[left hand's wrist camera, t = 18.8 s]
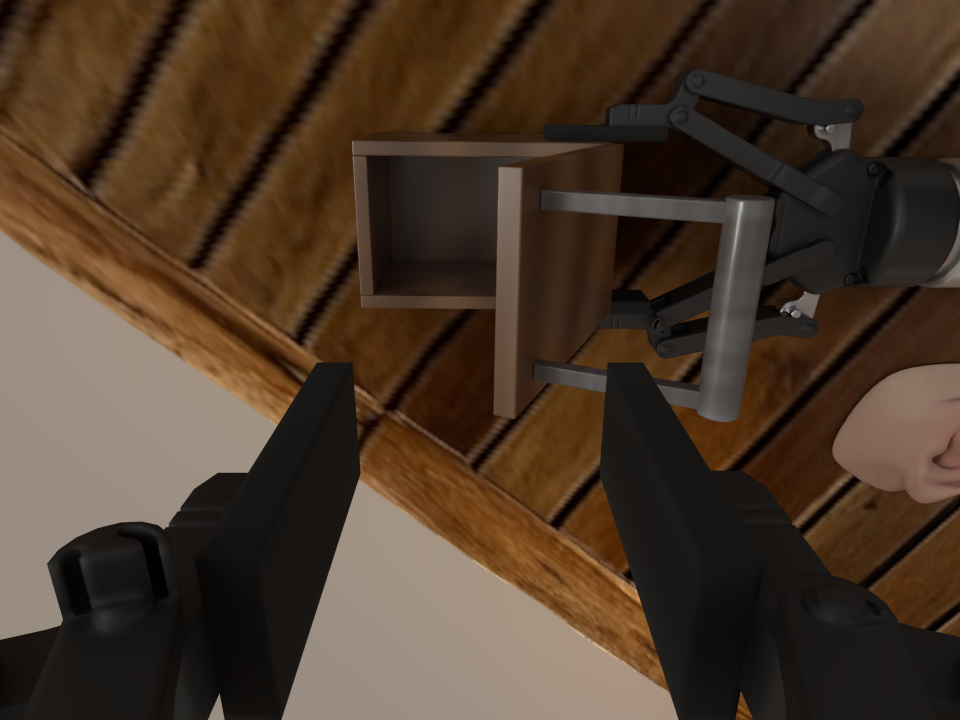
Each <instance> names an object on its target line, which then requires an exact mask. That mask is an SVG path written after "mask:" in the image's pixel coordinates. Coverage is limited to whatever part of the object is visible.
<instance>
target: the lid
mask: <svg viewBox="0 0 960 720" xmlns="http://www.w3.org/2000/svg"><path fill="white" fill-rule="evenodd" d="M623 153H624V144H603V145H599V146H594V147H589V148H584V149H579V150H574V151H569V152H565V153H560V154H555V155H550V156H545V157H540V158H535V159H530V160H526V161H521V162H516V163H511V164H506V165H501V166H499V167H498V213H497V265H496V317H495V369H494V415H497V416H502V417H507V418H512V419H515V418H516V417H517V416H518V415H519V414H520V413H521V412H522V410H523V409H524V408H525V407H526V406H527V405H528V404H529V403H530V402H531V400H532V399H533V398H534V397H535V396H536V395H537V394H538V393H539V392H540V390H541V389H542V388H543V387H544V386H545V385H546V384H547V383H548V382H549V383H555V384H560V385H566V386H571V387H577V388H583V389H588V390H594V391H599V392H606V379H607V370H604V369H598V368H591V367H585V366H579V365H573V364H567V363H566V362H567V361H568V359H569V358H570V357H571V356H572V355H573V354H574V353H575V352H576V351H577V350H578V348H579V347H580V346H581V345H582V344H583V343H584V342H585V341H586V340H587V338H588V337H589V336H590V335H591V334H592V333H593V332H594V331H595V330H596V328H597V327H598V326H599V325H600V324H601V323H602V322H603V321H604V320H605V318H606V317H607V316H608V315H609V314H610V307H611V295H612V283H613V271H614V259H615V248H616V236H617V224H618V216H628V217H641V218H655V219H668V220H681V221H694V222H708V223H721V224H722V228H721V235H720V242H719V249H718V256H717V263H716V270H715V277H714V284H713V291H712V298H711V306H710V313H709V320H708V327H707V334H706V341H705V348H704V355H703V362H702V369H701V376H700V383H699V385H694V384H688V383H682V382H676V381H670V380H664V379H658V378H653V379H654V381H655V383H656V384H657V386H658V387H659V389H660V391H661V392H662V394H663V395H664V397H665V399H666V400H667V402H668V403H669V404H672V405H678V406H683V407H689V408H695V409H696V411H697V413H698V414H699V415H701V416H702V417H704V418H707V419H710V420H714V421H721V422H728V421H733V420H736V419H737V418H738V417H739V414H740V408H741V402H742V396H743V391H744V385H745V379H746V373H747V367H748V361H749V355H750V349H751V343H752V337H753V331H754V325H755V319H756V313H757V308H758V302H759V296H760V290H761V284H762V278H763V272H764V266H765V260H766V254H767V248H768V242H769V236H770V230H771V225H772V219H773V213H774V207H775V199H774V198H772V197H768V196H761V195H746V194H738V195H729V196H727V197H726V199H712V198H696V197H680V196H664V195H648V194H632V193H620V189H621V177H622V165H623Z"/></svg>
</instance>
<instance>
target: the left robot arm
mask: <svg viewBox="0 0 960 720" xmlns="http://www.w3.org/2000/svg"><path fill="white" fill-rule="evenodd" d="M360 473H361V472H360V459H359V446H358V432H357V419H356V406H355V392H354V379H353V366H352V363H316V365H315V367H314V368H313V370H312V371H311V373H310V375H309V376H308V378H307V379H306V381H305V383H304V384H303V386H302V387H301V389H300V391H299V392H298V394H297V395H296V397H295V399H294V400H293V402H292V403H291V405H290V407H289V408H288V410H287V411H286V413H285V415H284V416H283V418H282V419H281V421H280V423H279V424H278V426H277V427H276V429H275V431H274V432H273V434H272V436H271V437H270V439H269V440H268V442H267V443H266V445H265V447H264V448H263V450H262V452H261V453H260V455H259V456H258V458H257V459H256V461H255V463H254V464H253V466H252V467H251V469H250V471H249V472H248V473H217V474H216V475H214V476H213V477H211V478H210V479H208V480H207V481H205V482H204V483H202V484H201V485H200V486H198V487H197V488H195V489H194V490H193V491H192V493H191V494H190V496H189V497H188V498H187V500H186V501H185V502H184V504H183V505H182V506H181V510H180V511H178V512H177V513H176V515H175V516H174V517H173V519H172V520H171V522H170V523H169V527H166V528H165V529H164V530H163V529H162V528H161V527H160V526H158V525H155V524H150V523H146V522H122V523H117V524H113V525H109V526H105V527H101V528H97V529H95V530H93V531H90V532H88V533H86V534H83V535H81V536H79V537H77V538H75V539H73V540H72V541H71V542H69V543H68V544H66V545H65V546H63V547H62V548H60V549H59V550H58V551H57V552H56V553H55V555H54V556H53V557H52V558H51V560H50V561H49V562H48V563H47V565H48V569H49V572H50V576H51V579H52V583H53V586H54V590H55V593H56V596H57V600H58V603H59V607H60V610H61V614H62V617H63V621H62V624H61V626H58V627H54V628H51V629H47V630H43V631H38V632H34V633H29V634H25V635H21V636H16V637H11V638H7V639H2V640H0V720H208V718H209V716H210V713H211V711H212V709H213V707H214V705H215V702H216V700H217V698H218V695H219V693H220V697H221V702H222V708H223V713H224V718H225V720H281V719H282V716H283V713H284V710H285V707H286V704H287V701H288V697H289V694H290V691H291V688H292V685H293V682H294V679H295V676H296V673H297V669H298V666H299V663H300V660H301V657H302V654H303V651H304V647H305V644H306V641H307V638H308V635H309V632H310V629H311V626H312V623H313V620H314V617H315V613H316V610H317V607H318V604H319V601H320V598H321V595H322V592H323V588H324V585H325V582H326V579H327V576H328V573H329V570H330V567H331V564H332V560H333V557H334V554H335V551H336V548H337V545H338V542H339V538H340V536H341V532H342V529H343V526H344V523H345V520H346V517H347V514H348V511H349V508H350V504H351V501H352V498H353V495H354V492H355V489H356V486H357V483H358V480H359V476H360ZM599 473H600V477H601V480H602V483H603V486H604V489H605V492H606V495H607V498H608V501H609V505H610V508H611V511H612V514H613V517H614V520H615V523H616V526H617V529H618V533H619V536H620V539H621V542H622V545H623V548H624V551H625V554H626V557H627V561H628V564H629V567H630V570H631V573H632V576H633V579H634V582H635V585H636V589H637V592H638V595H639V598H640V601H641V604H642V607H643V610H644V613H645V617H646V620H647V623H648V626H649V629H650V632H651V635H652V638H653V641H654V645H655V648H656V651H657V654H658V657H659V660H660V663H661V666H662V669H663V673H664V676H665V679H666V682H667V685H668V688H669V691H670V694H671V697H672V701H673V704H674V707H675V710H676V713H677V716H678V719H679V720H735V718H736V713H737V708H738V703H739V697H740V692H742V694H743V697H744V699H745V701H746V703H747V706H748V708H749V710H750V712H751V715H752V717H753V719H754V720H960V637H957V636H953V635H948V634H944V633H939V632H935V631H930V630H925V629H921V628H916V627H912V626H909V625H905V624H902V623H899V622H898V620H897V618H896V617H895V615H894V614H893V612H892V611H891V609H890V608H889V607H888V605H887V604H886V603H885V602H884V601H882V600H881V599H880V598H879V597H877V596H876V595H875V594H873V593H872V592H871V591H870V590H868V589H866V588H864V587H862V586H860V585H857V584H855V583H853V582H851V581H849V580H846V579H842V578H839V577H835V576H832V575H831V574H830V572H829V571H828V570H827V568H826V567H825V566H824V564H823V563H822V562H821V560H820V559H819V557H818V556H817V555H816V553H815V552H814V551H813V549H812V548H811V547H810V545H809V544H808V543H807V541H806V540H805V539H804V537H803V536H802V535H801V533H800V532H799V531H798V529H797V528H796V527H795V525H792V524H791V520H790V518H789V517H788V516H787V514H786V513H785V512H784V510H783V509H780V505H779V504H778V502H777V501H776V500H775V498H774V497H773V496H772V494H771V493H770V491H769V490H768V489H767V487H766V486H764V485H763V484H761V483H760V482H758V481H757V480H755V479H754V478H752V477H751V476H749V475H748V474H746V473H745V472H743V471H710V469H709V468H708V466H707V464H706V463H705V461H704V460H703V458H702V456H701V455H700V453H699V451H698V450H697V448H696V447H695V445H694V443H693V442H692V440H691V439H690V437H689V435H688V434H687V432H686V431H685V429H684V427H683V426H682V424H681V423H680V421H679V419H678V418H677V416H676V415H675V413H674V411H673V410H672V408H671V407H670V405H669V403H668V402H667V400H666V399H665V397H664V395H663V394H662V392H661V391H660V389H659V387H658V386H657V384H656V383H655V381H654V379H653V378H652V376H651V375H650V373H649V371H648V370H647V368H646V367H645V365H644V363H608V366H607V379H606V392H605V405H604V419H603V432H602V445H601V459H600V472H599Z"/></svg>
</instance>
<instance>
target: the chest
mask: <svg viewBox="0 0 960 720" xmlns="http://www.w3.org/2000/svg"><path fill="white" fill-rule="evenodd" d="M544 136H545V134H497V133H400V132H378V133H375V134H372V135H369V136H366V137H362V138H359V139H356V140H353V141H352V154H353V155H354V156H353V173H354V190H355V208H356V225H357V242H358V260H359V277H360V294H361V307H362V308H434V309H496V265H497V213H498V167H499V166H501V165H506V164H511V163H516V162H521V161H526V160H530V159H535V158H540V157H545V156H550V155H555V154H560V153H565V152H569V151H574V150H579V149H584V148H589V147H594V146H599V145H603V144H613V143H611V142H607V141H549V140H547V139H545V138H544Z"/></svg>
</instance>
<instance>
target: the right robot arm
mask: <svg viewBox="0 0 960 720" xmlns="http://www.w3.org/2000/svg"><path fill="white" fill-rule="evenodd" d="M699 98H700V99H703V100H707V101H711V102H714V103H718V104H722V105H725V106H729V107H732V108H736V109H740V110H743V111H747V112H751V113H754V114H758V115H761V116H765V117H769V118H772V119H776V120H780V121H783V122H787V123H792V124H804V125H807V132H808V135H809V136H810V137H812V138H815V139H819V140H821V141H822V142H823V144H824V150H823V151H821V152H820V153H818V154H817V155H815V156H814V157H812V158H811V159H809V160H808V161H806V162H804V163H803V164H801V165H800V166H798V167H797V168H795V169H794V168H793V167H791V166H789V165H787V164H785V163H783V162H780V161H779V160H777V159H775V158H773V157H772V156H770V155H768V154H767V153H765V152H763V151H762V150H760V149H758V148H757V147H755V146H753V145H752V144H750V143H748V142H747V141H745V140H743V139H742V138H740V137H738V136H737V135H735V134H733V133H732V132H730V131H728V130H727V129H725V128H723V127H721V126H720V125H718V124H716V123H715V122H713V121H711V120H710V119H708V118H706V117H705V116H703V115H701V114H700V113H698V112H696V111H695V110H694V109H695V107H696V104H697V102H698V100H699ZM862 113H863V104H862V103H861V102H860V101H859V100H856V99H830V100H821V101H814V100H810V99H807V98H803V97H800V96H796V95H793V94H789V93H785V92H782V91H778V90H775V89H771V88H767V87H764V86H760V85H757V84H753V83H750V82H746V81H742V80H739V79H735V78H732V77H728V76H725V75H721V74H717V73H714V72H710V71H707V70H703V69H694V70H688V71H683V72H681V73H679V74H678V75H677V77H676V79H675V86H674V88H673V90H672V93H671V95H670V97H669V98H668V99H667V100H666V101H665V102H664V103H662V104H657V105H644V104H615V105H612V106H610V107H607V108H606V118H605V125H545V136H544V138H545V139H547V140H549V141H607V142H667V141H668V132H669V129H670V130H672V131H674V132H675V133H677V134H679V135H681V136H682V137H684V138H686V139H687V140H689V141H691V142H693V143H694V144H696V145H698V146H699V147H701V148H703V149H704V150H706V151H708V152H710V153H711V154H713V155H715V156H716V157H718V158H720V159H722V160H723V161H725V162H727V163H728V164H730V165H732V166H733V167H735V168H737V169H739V170H740V171H742V172H744V173H745V174H747V175H749V176H750V177H751V178H753V179H754V180H756V181H757V182H759V183H761V184H763V185H764V186H766V187H768V188H769V191H768V193H767V194H764V195H763V196H768V197H772V198H774V199H775V207H774V213H773V219H772V225H771V230H770V236H769V242H768V248H767V254H766V260H765V266H764V272H763V278H762V284H761V286H768V285H771V284H774V283H776V282H778V281H780V280H782V279H785V278H787V279H789V280H790V281H791V282H792V283H793V284H795V285H796V286H797V287H798V290H797V292H796V293H795V294H794V295H793V296H790V297H785V298H782V299H779V300H777V301H776V306H771V305H767V306H758V308H757V313H756V319H755V325H754V331H753V337H752V341H753V340H757V339H762V338H767V337H772V336H776V335H785V336H793V337H802V338H810V337H813V336H814V335H815V334H816V333H817V332H818V329H819V325H818V323H817V322H816V321H815V320H814V319H813V316H814V313H815V309H816V306H817V303H818V300H819V297H820V294H824V293H827V292H829V291H831V290H833V289H835V288H839V287H913V286H917V285H919V286H921V287H931V288H937V287H960V158H940V159H937V160H935V159H933V158H927V157H863V156H861V155H859V154H857V153H856V152H854V151H853V150H850V141H851V130H852V122H855V121H857V120H858V119H859V118H860V117H861V115H862ZM714 277H715V271H712V272H710V273H708V274H706V275H704V276H702V277H700V278H697V279H695V280H693V281H691V282H689V283H687V284H685V285H682V286H680V287H678V288H676V289H674V290H672V291H670V292H667V293H665V294H663V295H661V296H659V297H657V298H654V299H652V300H650V301H649V299H648V298H647V297H646V296H645V295H644V293H643V292H642V291H641V290H612V295H611V307H610V314H609V315H608V316H607V317H606V318H605V320H604V321H603V322H602V323H601V324H600V325H599V326H598V327H600V328H626V329H644V330H646V331H647V335H648V341H649V343H650V344H651V346H652V347H653V349H654V350H655V351H656V353H657V354H658V355H659V356H660V357H661V358H664V359H667V358H672V357H677V356H682V355H687V354H691V353H696V352H701V351H704V348H705V341H706V334H707V327H708V320H709V317H706V318H701V319H696V320H692V321H687V322H682V321H684V320H686V319H689V318H691V317H693V316H695V315H697V314H700V313H702V312H704V311H706V310H708V309H710V306H711V298H712V291H713V284H714ZM680 322H682V323H680Z"/></svg>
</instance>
